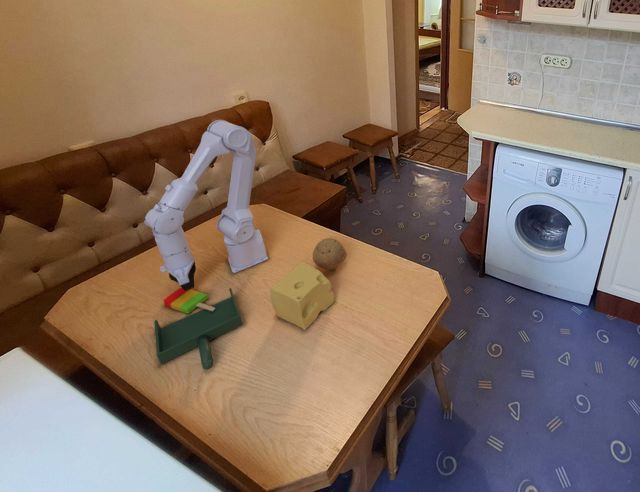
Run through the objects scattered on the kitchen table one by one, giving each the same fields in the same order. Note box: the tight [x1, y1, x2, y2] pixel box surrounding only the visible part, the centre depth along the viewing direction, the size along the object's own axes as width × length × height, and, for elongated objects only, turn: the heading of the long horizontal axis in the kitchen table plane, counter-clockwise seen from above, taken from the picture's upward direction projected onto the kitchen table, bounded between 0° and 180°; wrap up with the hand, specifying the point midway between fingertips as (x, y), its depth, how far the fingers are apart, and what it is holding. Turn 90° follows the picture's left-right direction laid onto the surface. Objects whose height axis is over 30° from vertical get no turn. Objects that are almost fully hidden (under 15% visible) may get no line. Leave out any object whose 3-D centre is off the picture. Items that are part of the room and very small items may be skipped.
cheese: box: [270, 261, 336, 331], centre depth 92 cm, size 10×11×10 cm
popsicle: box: [163, 287, 215, 315], centre depth 93 cm, size 6×15×2 cm, turn 72°
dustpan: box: [154, 287, 244, 371], centre depth 84 cm, size 20×16×3 cm
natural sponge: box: [312, 237, 347, 271], centre depth 106 cm, size 9×9×10 cm
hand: (189, 288), depth 97 cm, fingers closed, pressing on popsicle
